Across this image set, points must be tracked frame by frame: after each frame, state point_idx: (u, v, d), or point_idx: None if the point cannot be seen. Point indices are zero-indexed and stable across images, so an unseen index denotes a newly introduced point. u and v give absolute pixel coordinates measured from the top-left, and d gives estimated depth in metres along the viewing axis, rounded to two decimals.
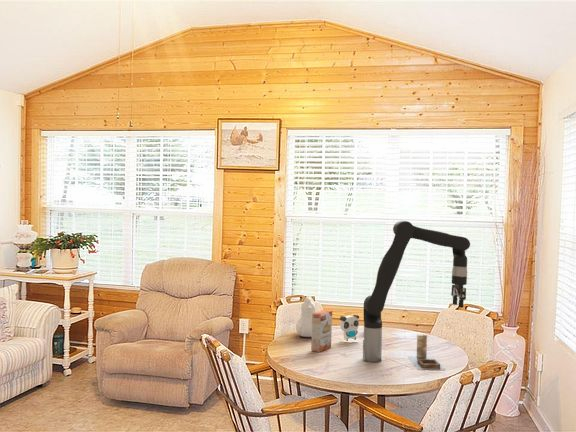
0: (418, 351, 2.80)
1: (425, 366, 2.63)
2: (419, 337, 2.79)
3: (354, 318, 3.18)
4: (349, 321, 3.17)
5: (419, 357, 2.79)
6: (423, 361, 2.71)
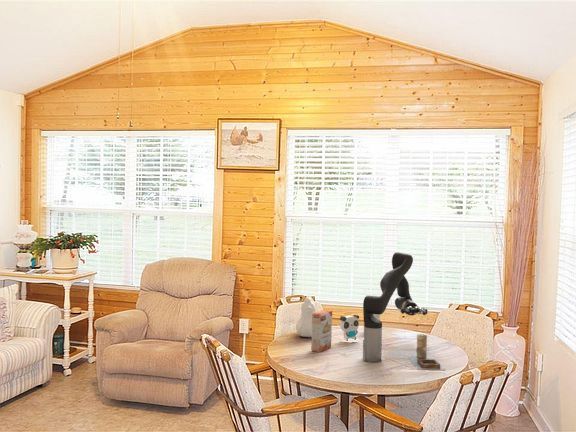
0: (418, 351, 2.80)
1: (425, 366, 2.63)
2: (419, 337, 2.79)
3: (354, 318, 3.18)
4: (349, 321, 3.17)
5: (419, 357, 2.79)
6: (423, 361, 2.71)
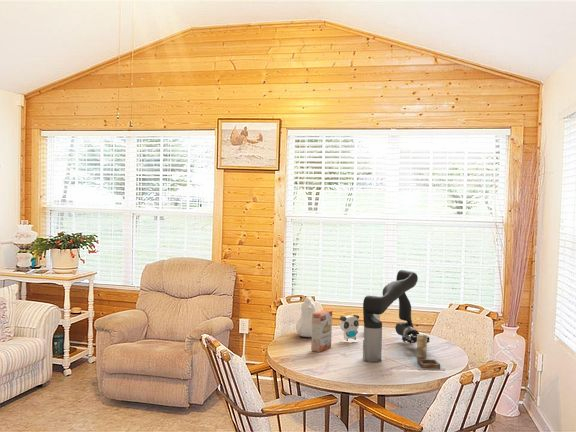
0: (418, 351, 2.80)
1: (425, 366, 2.63)
2: (419, 337, 2.79)
3: (354, 318, 3.18)
4: (349, 321, 3.17)
5: (419, 357, 2.79)
6: (423, 361, 2.71)
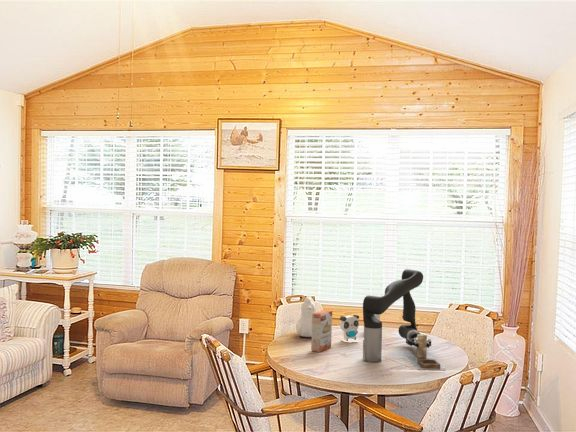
0: (418, 351, 2.80)
1: (425, 366, 2.63)
2: (419, 337, 2.79)
3: (354, 318, 3.18)
4: (349, 321, 3.17)
5: (419, 357, 2.79)
6: (423, 361, 2.71)
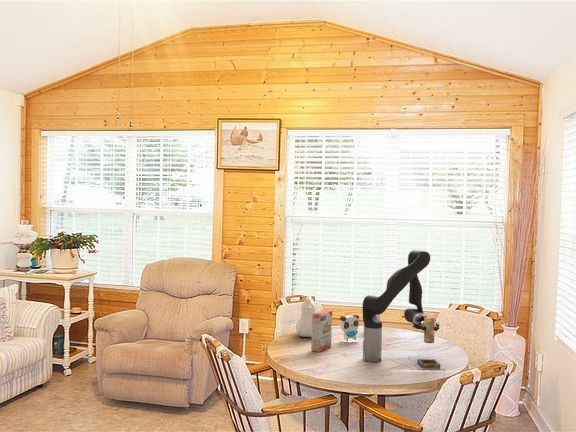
0: (425, 335, 2.66)
1: (425, 366, 2.63)
2: (427, 320, 2.65)
3: (354, 318, 3.18)
4: (349, 321, 3.17)
5: (427, 341, 2.65)
6: (423, 361, 2.71)
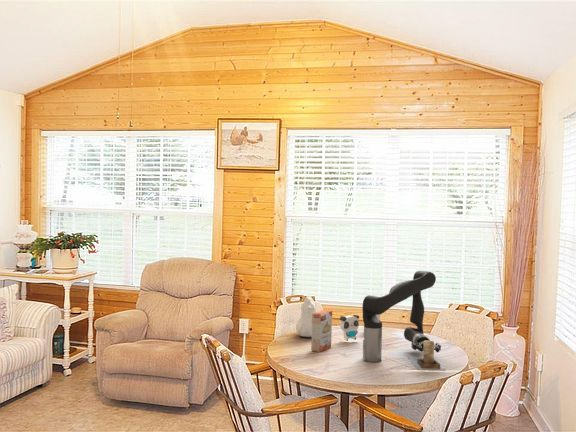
0: (425, 358, 2.66)
1: (425, 366, 2.63)
2: (426, 343, 2.66)
3: (354, 318, 3.18)
4: (349, 321, 3.17)
5: None
6: None
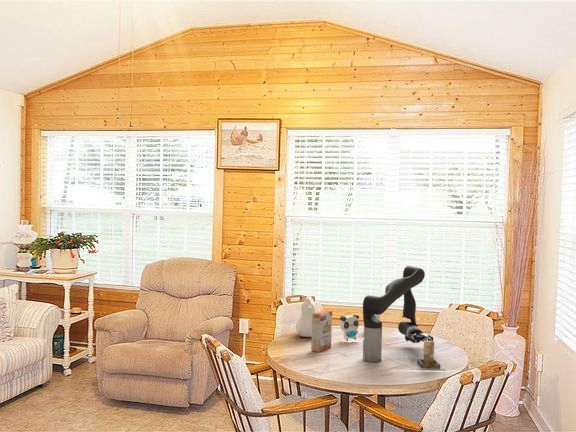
0: (425, 358, 2.66)
1: (425, 366, 2.63)
2: (426, 343, 2.66)
3: (354, 318, 3.18)
4: (349, 321, 3.17)
5: None
6: None
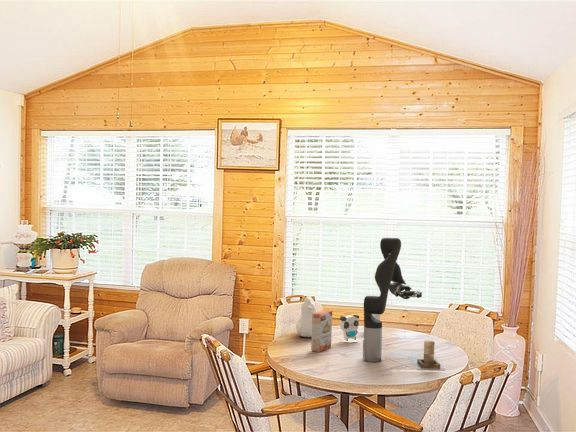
0: (425, 358, 2.66)
1: (425, 366, 2.63)
2: (426, 343, 2.66)
3: (354, 318, 3.18)
4: (349, 321, 3.17)
5: None
6: None
